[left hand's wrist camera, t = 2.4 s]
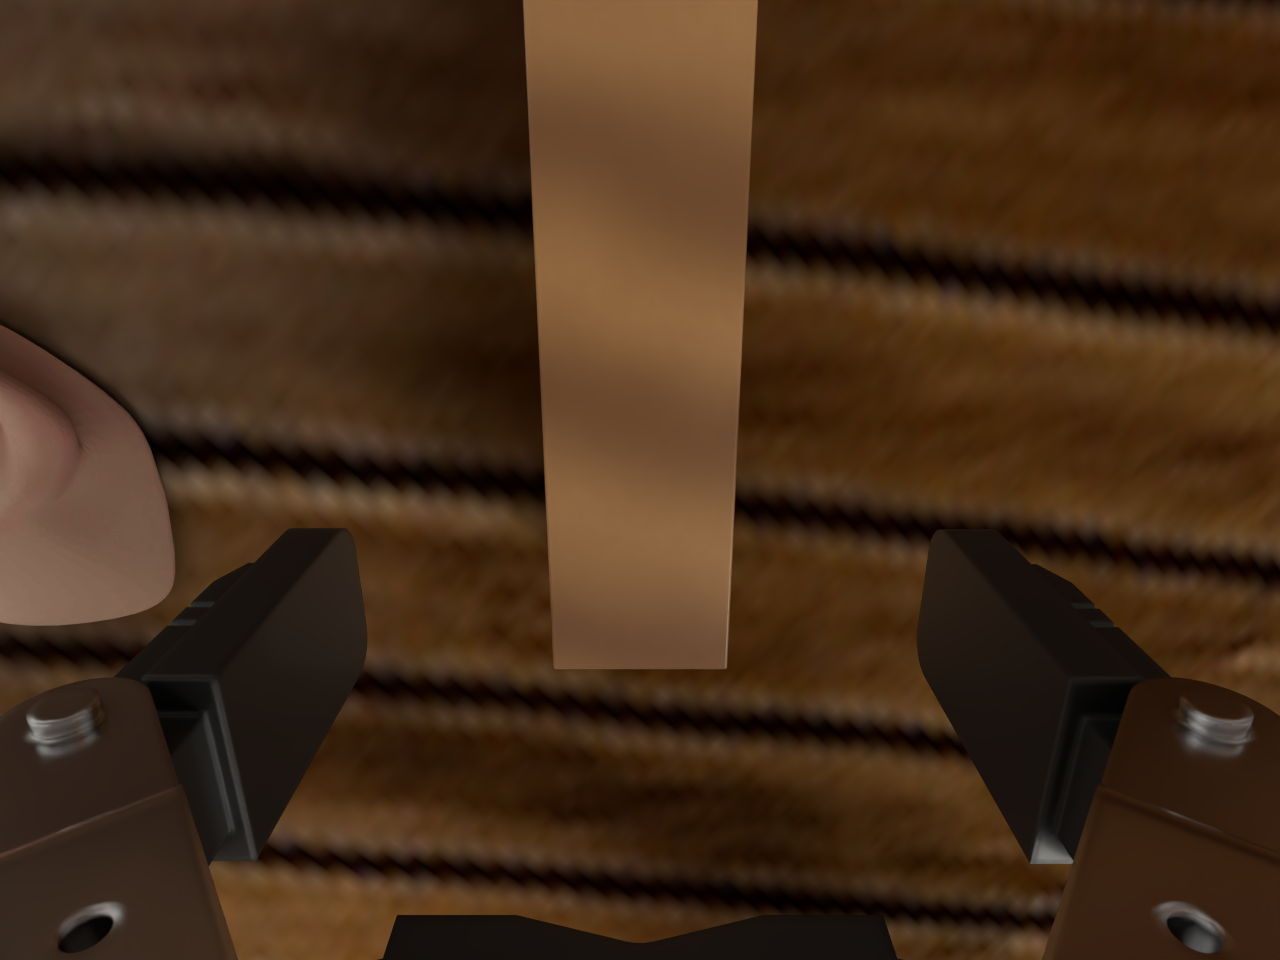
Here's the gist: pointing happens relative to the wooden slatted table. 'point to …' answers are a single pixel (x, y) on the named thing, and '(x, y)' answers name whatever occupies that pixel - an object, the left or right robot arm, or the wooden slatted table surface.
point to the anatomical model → (74, 498)
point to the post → (640, 317)
